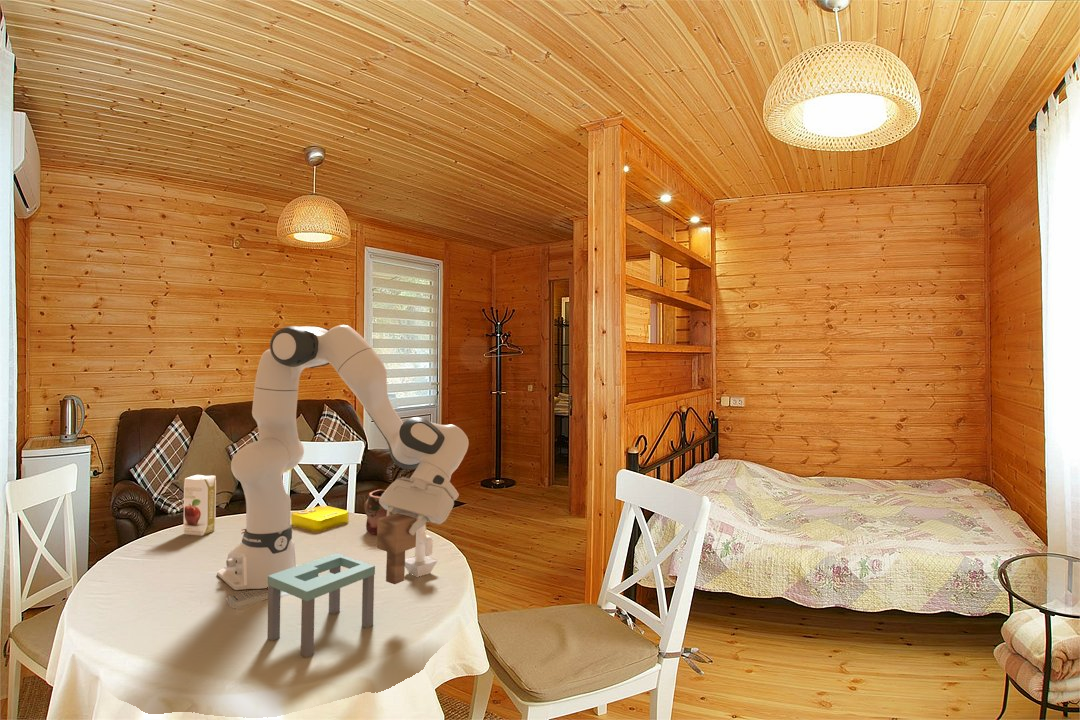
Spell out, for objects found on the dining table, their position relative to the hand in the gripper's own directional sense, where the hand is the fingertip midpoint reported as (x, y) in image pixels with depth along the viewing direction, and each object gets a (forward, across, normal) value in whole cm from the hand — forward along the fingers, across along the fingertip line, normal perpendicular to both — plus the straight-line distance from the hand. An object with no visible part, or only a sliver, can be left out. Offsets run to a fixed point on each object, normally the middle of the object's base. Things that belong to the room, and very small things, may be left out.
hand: (397, 530), depth 140 cm
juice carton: (+13, -100, +20) cm, 102 cm away
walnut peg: (+9, 0, +8) cm, 12 cm away
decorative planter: (-14, -51, +46) cm, 70 cm away
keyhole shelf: (+25, -9, +6) cm, 27 cm away
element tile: (-9, -77, +42) cm, 88 cm away
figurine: (-2, -16, +32) cm, 36 cm away
